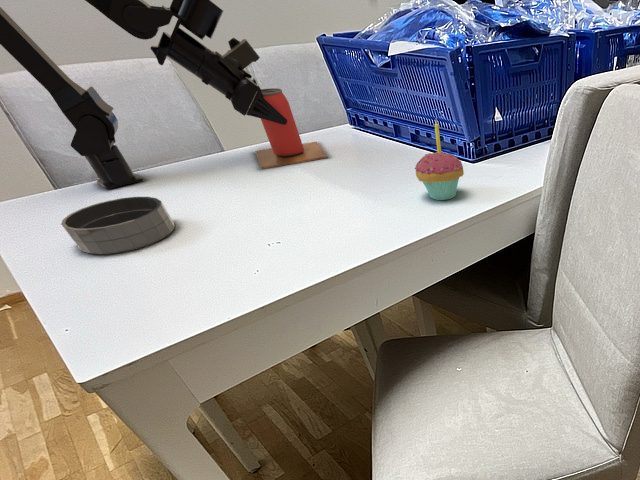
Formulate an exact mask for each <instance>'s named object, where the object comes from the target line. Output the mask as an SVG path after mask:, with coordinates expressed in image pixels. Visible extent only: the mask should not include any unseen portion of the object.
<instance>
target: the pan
mask: <svg viewBox="0 0 640 480" xmlns="http://www.w3.org/2000/svg"><path fill="white" fill-rule="evenodd" d="M60 225H61V226H62V228H63V229H64V230H65V232H66V233H67V234H68V235H69V237H70V238H71V240H72V241H73V243H75V245H76V246H77V247H78V249H80V251H82V252H84V253H87V254H96V255H111V254H119V253H120V254H121V253H126V252H129V251H133V250H134V251H135V250H139V249H141V248H145V247H147V246H151V245H152V244H156V243H157V242H160V241H161V240H163V239H165V238H166V237H167V236H168V235H170V234H171V233H172V232H173V230H174V229H175V222H174V220H173V219H172V217H171V215H170V214H169V212H168V210H167V209H166V207H165V205H164V203H163V202H162V200H160V199H158V198H157V197H150V196H131V197H121V198H115V199H111V200H105V201H102V202H98V203H97V202H96V203H94V204H91V205H89V206H86V207H82V208H80V209H78V210H76V211H73V212H71V213H70V214H68V215H67V216H66V217H64V218H63V219H62V220H61V223H60Z"/></svg>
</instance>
